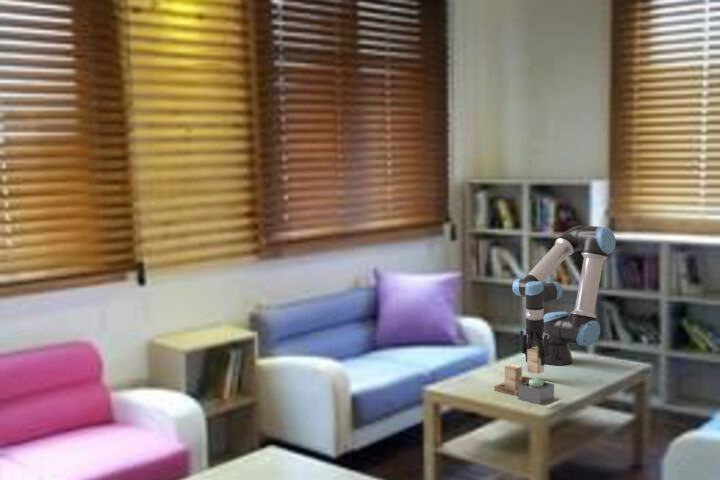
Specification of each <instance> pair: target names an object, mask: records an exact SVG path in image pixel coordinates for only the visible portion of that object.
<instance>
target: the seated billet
mask: <svg viewBox="0 0 720 480" xmlns="http://www.w3.org/2000/svg"><path fill="white" fill-rule="evenodd" d="M522 376H523V366H522V365H516V364H509V365H505V366H504V382H505V388H509V389H514V390H517V389H518V385H519V384H522Z"/></svg>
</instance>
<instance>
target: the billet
mask: <svg viewBox="0 0 720 480" xmlns="http://www.w3.org/2000/svg"><path fill="white" fill-rule="evenodd" d="M539 357H540V354H539V350H538V346H537V347H536V346H532V348H530V349H527V362H526V365H527V366H526V369H528V370H527V373H530V374H535V375H539V374H540V373H539Z"/></svg>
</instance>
